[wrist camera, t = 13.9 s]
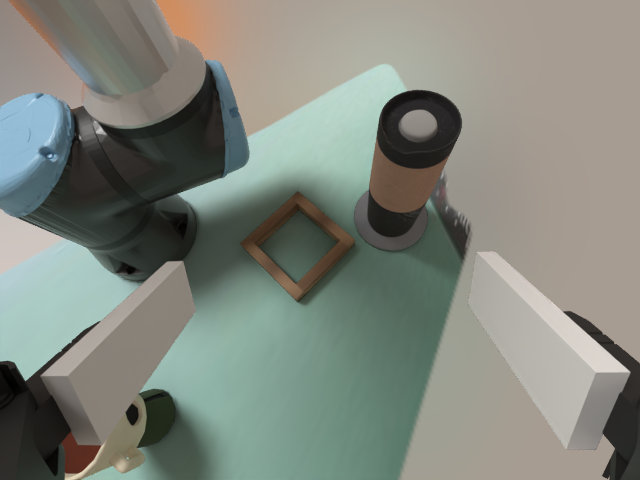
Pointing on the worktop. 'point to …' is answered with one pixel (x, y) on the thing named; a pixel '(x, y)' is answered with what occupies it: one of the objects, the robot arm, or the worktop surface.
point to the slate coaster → (382, 241)
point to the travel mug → (409, 158)
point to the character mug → (123, 438)
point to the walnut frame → (276, 222)
